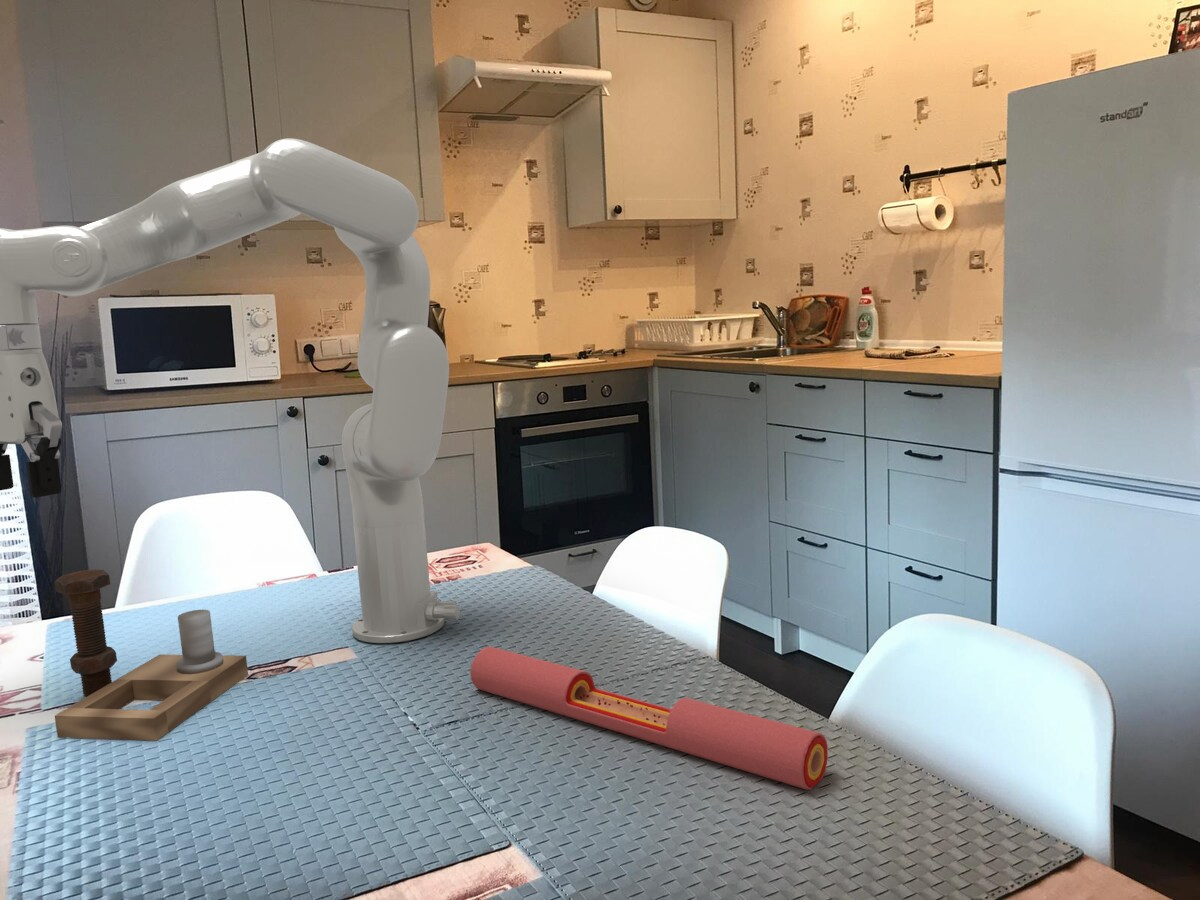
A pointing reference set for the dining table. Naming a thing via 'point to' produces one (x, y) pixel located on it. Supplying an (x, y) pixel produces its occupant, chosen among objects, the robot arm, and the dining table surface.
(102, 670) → the bolt
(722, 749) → the blood vessel
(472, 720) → the dining table surface
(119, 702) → the wooden peg holder
